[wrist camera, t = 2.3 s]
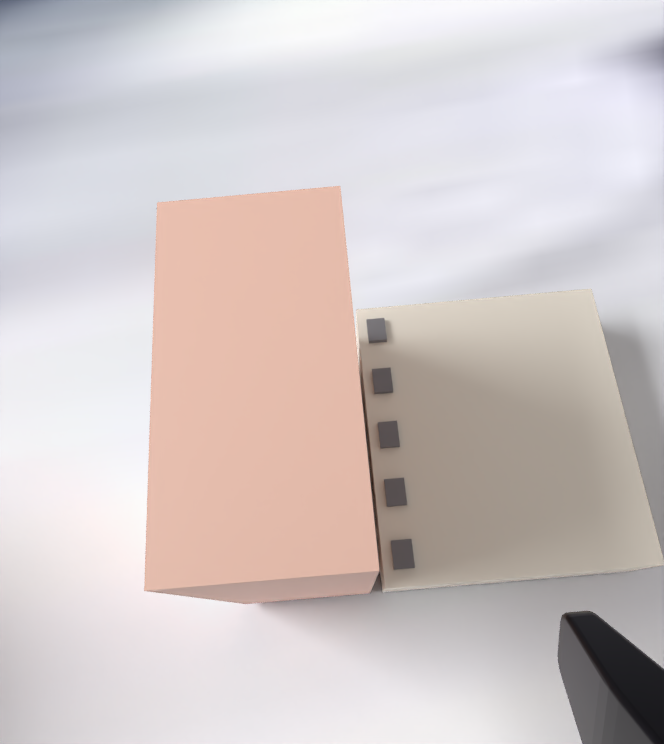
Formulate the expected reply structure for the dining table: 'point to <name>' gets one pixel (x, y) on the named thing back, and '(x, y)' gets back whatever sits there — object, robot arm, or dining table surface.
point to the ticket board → (499, 443)
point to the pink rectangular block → (256, 404)
